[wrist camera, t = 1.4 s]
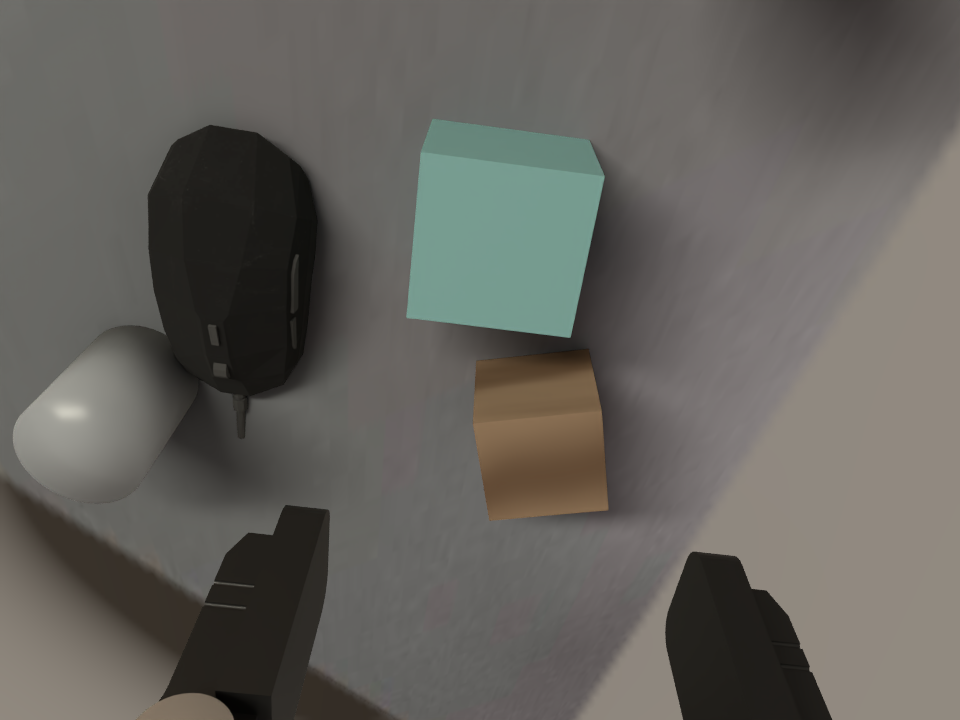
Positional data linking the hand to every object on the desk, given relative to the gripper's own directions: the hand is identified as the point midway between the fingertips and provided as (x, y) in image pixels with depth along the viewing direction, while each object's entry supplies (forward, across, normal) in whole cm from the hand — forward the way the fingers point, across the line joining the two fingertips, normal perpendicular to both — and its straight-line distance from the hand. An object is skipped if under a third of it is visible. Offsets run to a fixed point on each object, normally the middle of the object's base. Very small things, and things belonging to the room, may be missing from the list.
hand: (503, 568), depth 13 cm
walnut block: (+20, -3, +9) cm, 22 cm away
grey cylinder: (+20, +15, +10) cm, 27 cm away
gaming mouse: (+20, +10, +6) cm, 23 cm away
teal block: (+20, 0, 0) cm, 20 cm away
